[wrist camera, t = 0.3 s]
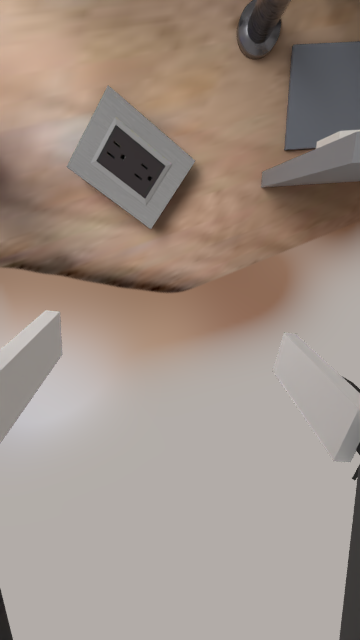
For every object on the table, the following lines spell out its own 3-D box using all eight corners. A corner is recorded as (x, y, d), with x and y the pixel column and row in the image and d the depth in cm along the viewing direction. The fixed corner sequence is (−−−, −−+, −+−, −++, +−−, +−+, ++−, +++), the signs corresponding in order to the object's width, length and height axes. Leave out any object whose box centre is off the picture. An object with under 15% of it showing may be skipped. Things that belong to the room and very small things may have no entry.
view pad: (292, 47, 33) (294, 44, 32) (378, 42, 33) (381, 40, 33) (284, 150, 37) (285, 149, 36) (360, 145, 37) (363, 144, 37)
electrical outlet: (193, 163, 37) (195, 160, 34) (151, 228, 40) (150, 229, 37) (111, 92, 33) (107, 84, 31) (71, 169, 36) (65, 166, 34)
